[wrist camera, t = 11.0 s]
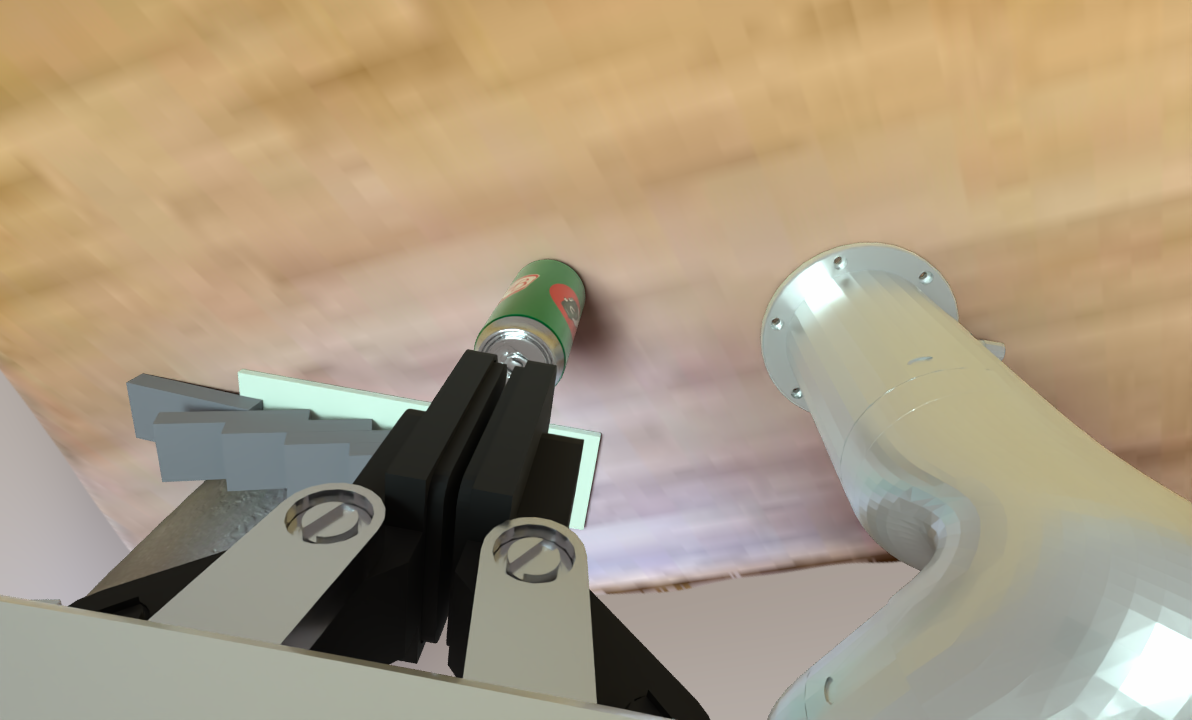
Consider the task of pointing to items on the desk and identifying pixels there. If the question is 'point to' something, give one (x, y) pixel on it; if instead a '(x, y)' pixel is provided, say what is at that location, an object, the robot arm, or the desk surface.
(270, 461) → the tile
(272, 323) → the desk surface
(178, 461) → the tile
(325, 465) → the tile
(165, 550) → the pillar candle
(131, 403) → the tile
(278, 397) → the mat
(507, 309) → the soda can
